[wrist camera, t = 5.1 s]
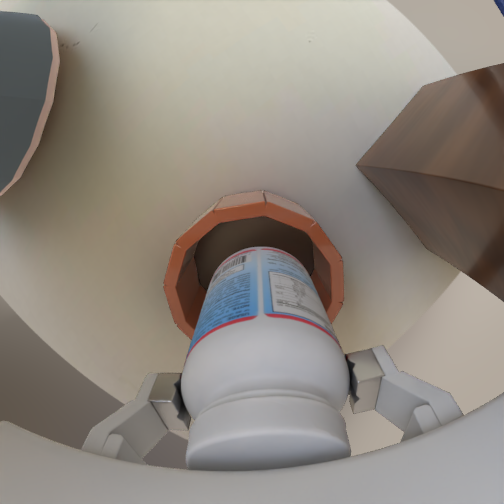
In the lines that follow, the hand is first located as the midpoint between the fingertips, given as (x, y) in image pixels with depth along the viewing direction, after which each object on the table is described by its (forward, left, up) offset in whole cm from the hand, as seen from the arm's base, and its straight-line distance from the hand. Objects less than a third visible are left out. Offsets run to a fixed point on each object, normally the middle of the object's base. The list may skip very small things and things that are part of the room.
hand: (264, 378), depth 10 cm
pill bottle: (0, 0, -7) cm, 7 cm away
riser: (-15, -6, -12) cm, 20 cm away
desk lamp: (+22, -20, -13) cm, 33 cm away
